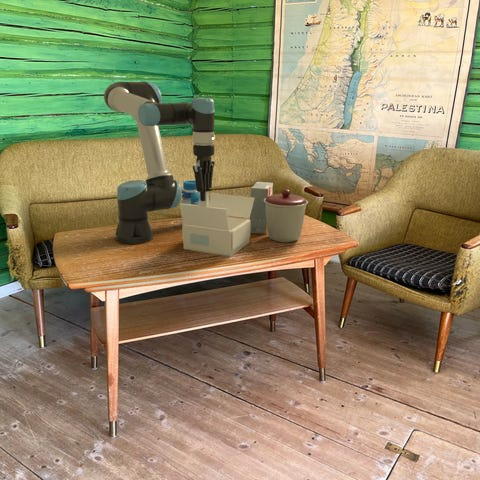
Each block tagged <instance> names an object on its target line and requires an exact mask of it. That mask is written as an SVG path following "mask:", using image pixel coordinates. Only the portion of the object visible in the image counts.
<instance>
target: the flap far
mask: <svg viewBox="0 0 480 480" xmlns="http://www.w3.org/2000/svg"><path fill="white" fill-rule="evenodd" d="M253 202H254V198H253V197H251V196H243V195H234V194H224V193H218V192H217V193H216V192H211V194H210V198H209V207H215V208H223V209H227V214H228V217H234V218H241V219H250V214H251V210H252V206H253Z"/></svg>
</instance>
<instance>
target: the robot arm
mask: <svg viewBox="0 0 480 480" xmlns="http://www.w3.org/2000/svg"><path fill="white" fill-rule="evenodd" d="M162 97H163V96H162V93H161V91H160V89H159V87H158V86H157V84H155V83H153V82H150V81H116V82H113V83H111V84H109V85H108V86H107V87H106V88H105V90H104V93H103V100H104V101H103V102H104V103H105V105H106V106H107V107H108V108H109V109H110V110H111V111H114V112H116V113H122V112H123V113H125V114H128V115H129V116H131V118H132V119H133V120H135V123H136V125H137V130H138V136H139V140H140V145H141V148H142V153H143V158H144V163H145V167H146V172H147V177H146V178H145V180H143V179H137V180H136V179H135V180H130V181H125V182H122V183H120V184H119V185H118V186H117V188H116V189H117V190H116V194H117V195H116V198H117V200H116V201H117V209H118V210H117V213H118V224H117V227H116V230H115V235H114V236H115V241H117V242H118V243H120V244H127V245H128V244H129V245H130V244H131V245H134V244H144V243H147V242H149V241H150V242H151V241H152V240H153V238H154V232H153V230H152V227H151V224H150V222H149V216H148V214H149V212H157V211H161V210H162V211H163V210H170V209H174V208H177V207H178V206H180V205H179V204H180V203H181V200H182V195H183V193H182V191H183V189H182V185H181V183H180V182H179V181H178V180H177V179H174V175H173V174H172V173H171V172H169V169H168V164H167V159H166V155H165V150H164V146H163V141H162V137H161V132H160V128H159V127H160V126H177V125H178V126H179V125H180V126H181V125H190V126H192V143H193V145H192V153H193V156H195V157H196V161H195V163H196V164H195V165H193V166H192V171H193V175H194V181H195V182H196V189H197V192H199V194H200V206H207V207H209V200H210V198H209V192H211V191H212V187H213V186H212V185H213V176H214V167H215V163H216V162H215V161H214V160H213V161H212V156H214V155H215V144H214V143H215V137H216V135H215V112H216V110H215V101H214V99H212V98H209V97H195V98H193V99H192V102H187V101H184V102H183V101H182V102H166V103H165V102H163V98H162Z"/></svg>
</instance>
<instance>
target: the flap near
mask: <svg viewBox="0 0 480 480" xmlns="http://www.w3.org/2000/svg"><path fill="white" fill-rule="evenodd" d="M178 206H179V208H180V216H181V220H182V221H181V222H182V224H184V225H191V226H198V227H204V228H211V229H218V230H225V231H229V222H228V217H229V216H228V214H227V209H223V208H215V207H207V206H199V205H191V204H183V203H182V202H180V203H179V205H178Z"/></svg>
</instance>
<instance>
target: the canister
mask: <svg viewBox="0 0 480 480" xmlns="http://www.w3.org/2000/svg"><path fill="white" fill-rule="evenodd" d="M264 202H265V207H266V221H267V235H268V238H269V239H270V240H272V241H275V242H279V243H292V242H296V241H298V240H299V239H300V237H301V235H302V230H303V226H304V220H305V214H306V208H307V205H308V204H309V201H308V200H307V199H306V198H305V197H303V196H301V195H298V194H291V191H290V190H289V189H287V188H286V189H282V190H281V193H274V194H272V195H271V196H268V197H267V198H265V199H264Z"/></svg>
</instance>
